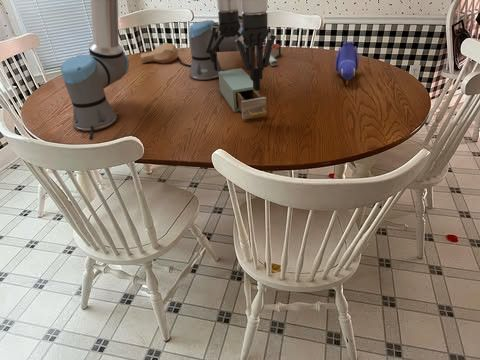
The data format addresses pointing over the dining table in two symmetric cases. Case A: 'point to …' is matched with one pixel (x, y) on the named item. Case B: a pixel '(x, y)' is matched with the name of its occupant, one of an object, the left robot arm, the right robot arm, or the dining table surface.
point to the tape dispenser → (273, 53)
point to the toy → (347, 61)
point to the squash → (161, 54)
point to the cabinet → (234, 85)
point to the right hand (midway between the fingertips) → (232, 67)
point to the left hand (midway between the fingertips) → (256, 89)
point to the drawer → (251, 104)
